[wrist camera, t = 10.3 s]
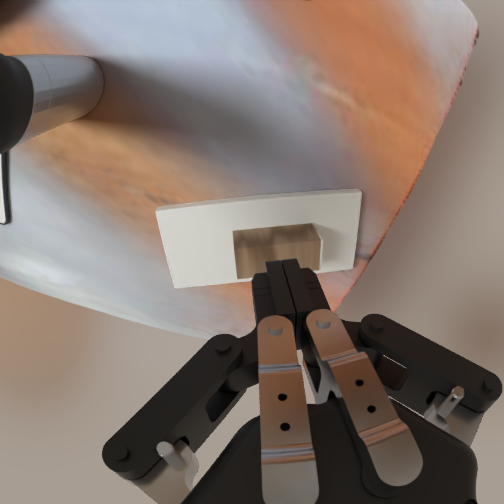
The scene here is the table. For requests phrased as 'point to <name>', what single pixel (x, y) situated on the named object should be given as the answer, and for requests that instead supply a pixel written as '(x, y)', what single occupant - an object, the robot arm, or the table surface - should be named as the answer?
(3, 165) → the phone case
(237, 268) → the walnut block
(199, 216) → the white board
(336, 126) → the table surface
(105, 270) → the table surface
